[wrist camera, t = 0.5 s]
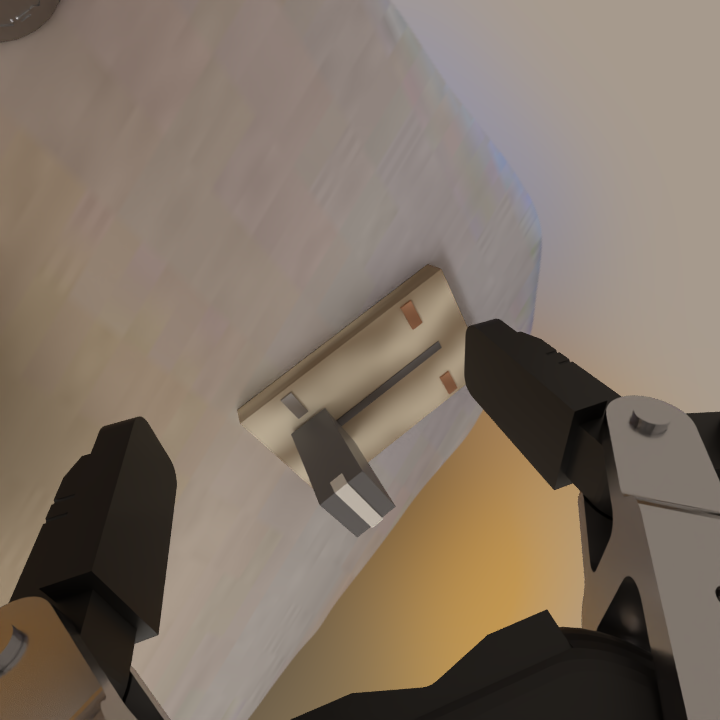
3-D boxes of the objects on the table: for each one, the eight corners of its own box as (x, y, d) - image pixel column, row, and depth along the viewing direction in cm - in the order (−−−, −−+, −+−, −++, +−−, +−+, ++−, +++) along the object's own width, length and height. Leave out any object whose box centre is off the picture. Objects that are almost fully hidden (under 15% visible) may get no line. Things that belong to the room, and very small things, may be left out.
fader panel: (237, 410, 31) (240, 425, 30) (428, 264, 33) (442, 269, 31) (317, 483, 38) (323, 499, 36) (473, 359, 39) (487, 369, 37)
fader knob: (290, 433, 31) (319, 505, 25) (324, 407, 32) (362, 470, 25) (324, 466, 34) (358, 539, 28) (355, 442, 35) (396, 508, 28)
